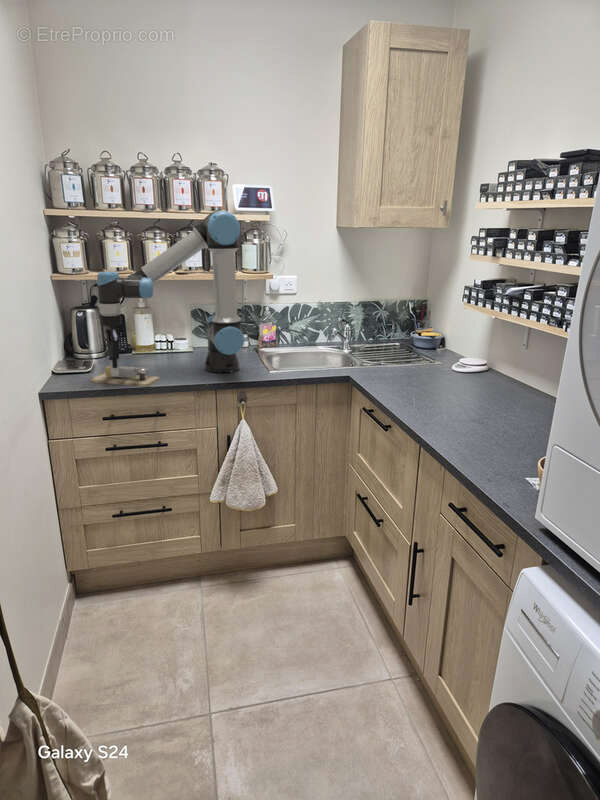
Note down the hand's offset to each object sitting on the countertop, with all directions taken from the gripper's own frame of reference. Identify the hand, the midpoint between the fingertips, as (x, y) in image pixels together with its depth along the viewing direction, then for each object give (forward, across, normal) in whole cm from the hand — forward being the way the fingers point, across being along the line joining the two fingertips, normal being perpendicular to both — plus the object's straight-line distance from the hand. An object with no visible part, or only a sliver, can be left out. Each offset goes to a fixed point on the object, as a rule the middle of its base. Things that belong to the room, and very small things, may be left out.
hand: (115, 375), depth 209 cm
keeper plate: (+3, +5, -1) cm, 6 cm away
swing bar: (+1, 0, -5) cm, 5 cm away
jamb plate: (+3, -3, -10) cm, 11 cm away
